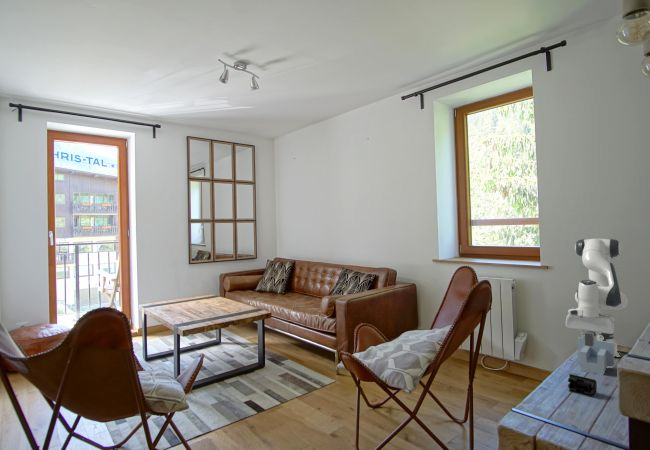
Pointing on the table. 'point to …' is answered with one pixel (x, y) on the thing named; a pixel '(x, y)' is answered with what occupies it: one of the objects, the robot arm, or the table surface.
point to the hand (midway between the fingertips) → (589, 339)
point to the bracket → (589, 338)
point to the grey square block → (595, 356)
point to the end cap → (582, 385)
